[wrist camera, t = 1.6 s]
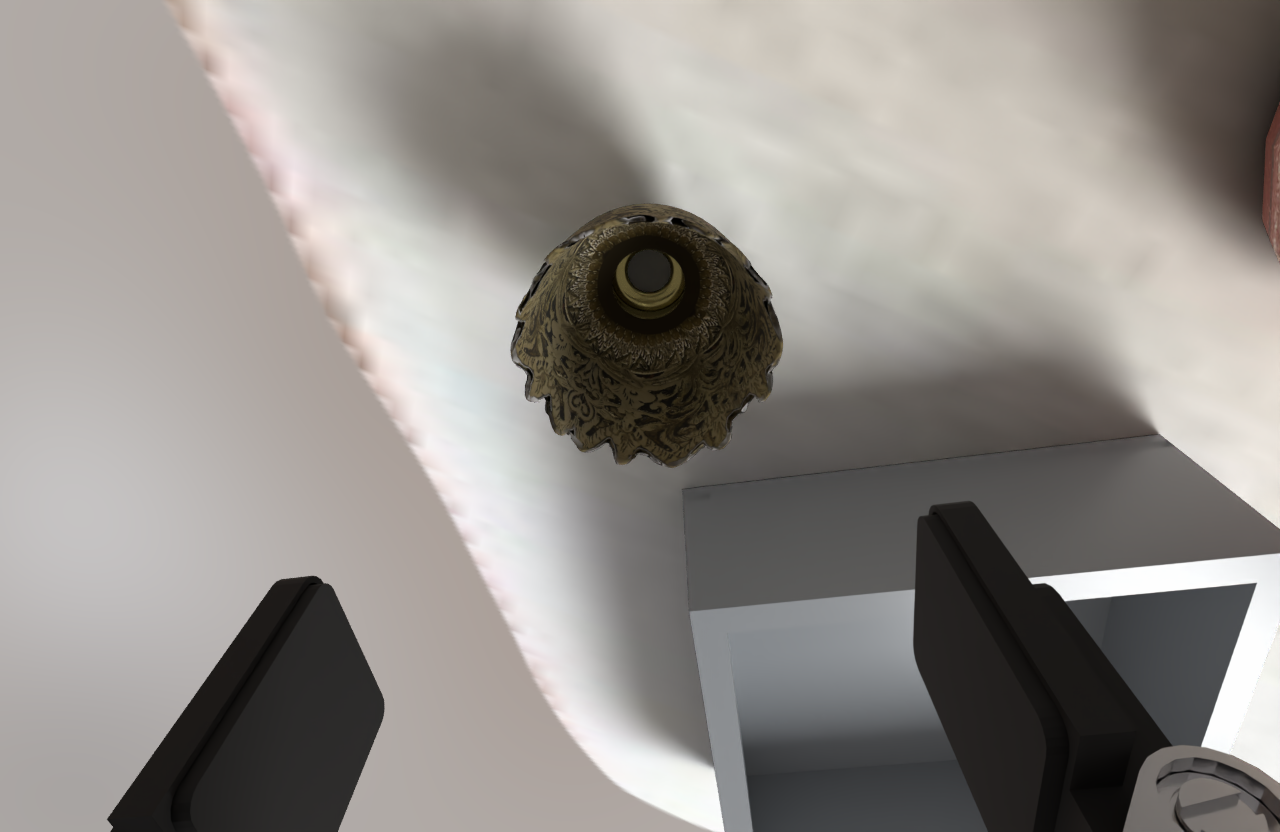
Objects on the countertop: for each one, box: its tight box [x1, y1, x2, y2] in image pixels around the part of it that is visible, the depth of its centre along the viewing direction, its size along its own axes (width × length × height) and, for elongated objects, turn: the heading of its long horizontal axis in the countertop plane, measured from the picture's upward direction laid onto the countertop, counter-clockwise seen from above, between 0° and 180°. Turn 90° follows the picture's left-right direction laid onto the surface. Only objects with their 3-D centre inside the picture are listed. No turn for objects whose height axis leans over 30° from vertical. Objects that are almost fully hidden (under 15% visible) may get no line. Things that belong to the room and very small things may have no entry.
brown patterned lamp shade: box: [511, 204, 783, 468], centre depth 23 cm, size 8×7×8 cm
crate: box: [682, 434, 1280, 832], centre depth 31 cm, size 20×20×8 cm
